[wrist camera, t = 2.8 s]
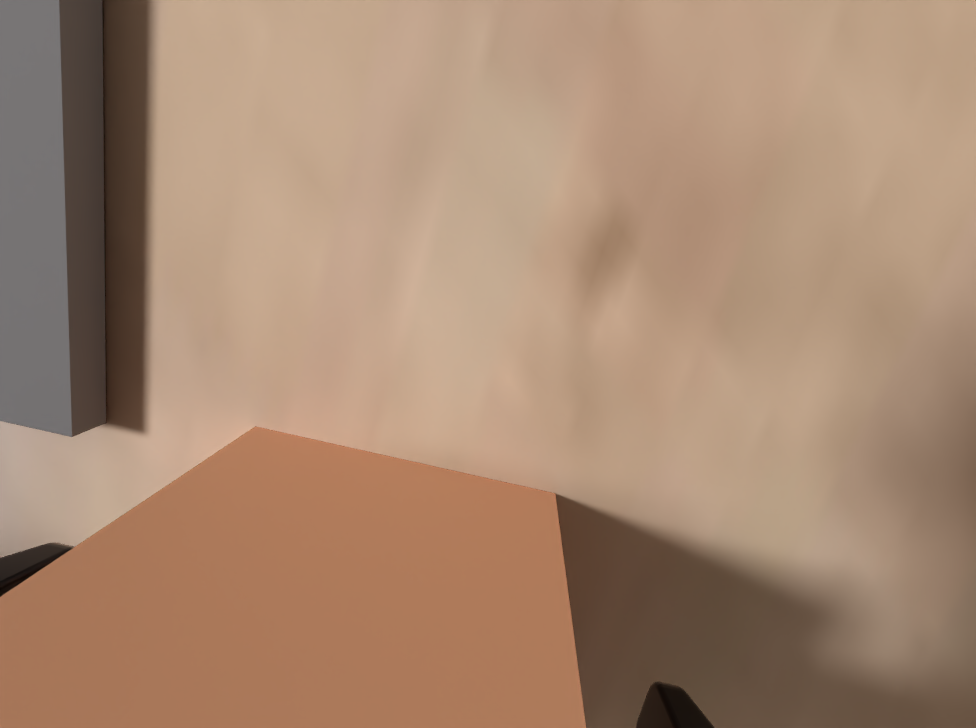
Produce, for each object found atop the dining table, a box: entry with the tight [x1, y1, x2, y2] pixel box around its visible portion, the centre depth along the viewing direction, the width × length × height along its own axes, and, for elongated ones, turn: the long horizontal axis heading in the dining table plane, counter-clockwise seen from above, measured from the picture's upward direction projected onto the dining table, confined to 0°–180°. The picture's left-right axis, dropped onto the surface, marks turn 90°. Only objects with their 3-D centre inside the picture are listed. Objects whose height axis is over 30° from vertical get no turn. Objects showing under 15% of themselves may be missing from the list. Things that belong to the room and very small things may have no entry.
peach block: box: [0, 427, 586, 728], centre depth 6 cm, size 5×5×5 cm
